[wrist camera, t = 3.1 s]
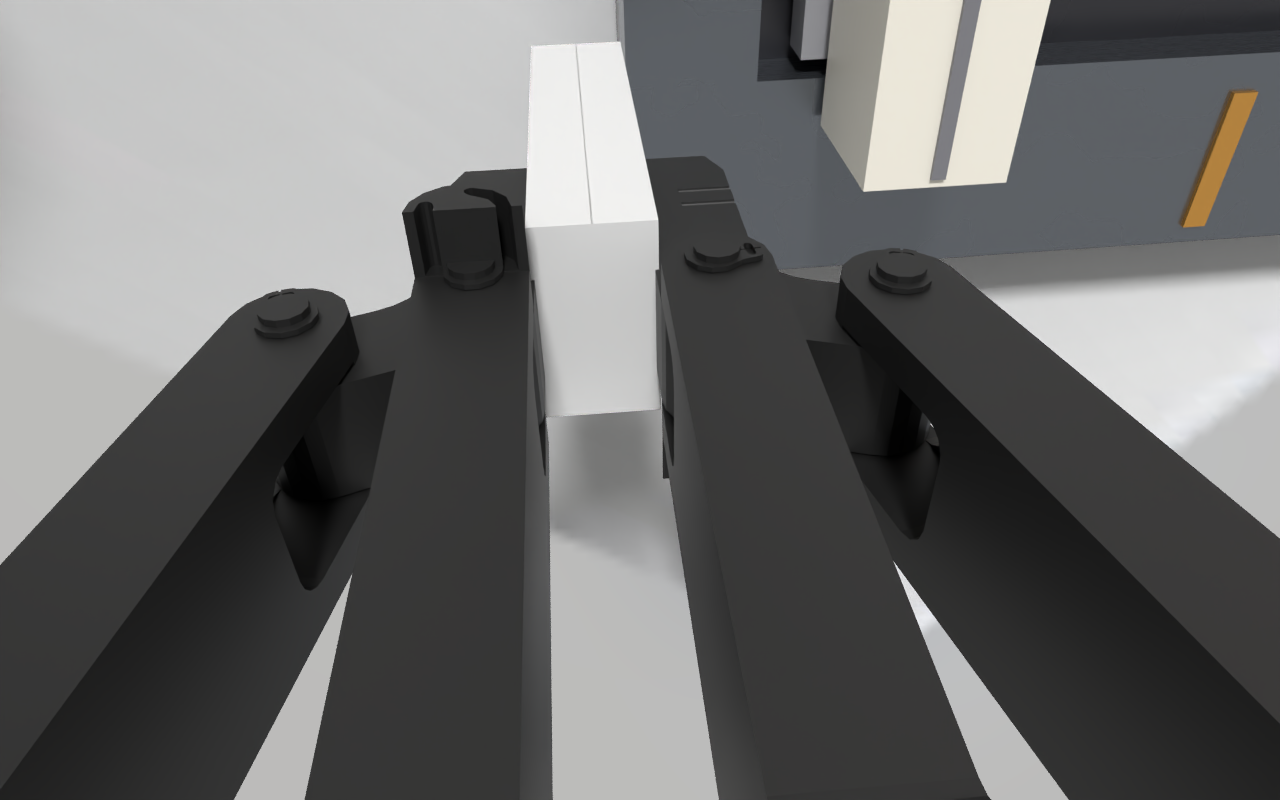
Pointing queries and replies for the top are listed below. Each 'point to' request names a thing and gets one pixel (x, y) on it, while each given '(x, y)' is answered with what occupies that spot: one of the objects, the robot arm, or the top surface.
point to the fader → (922, 85)
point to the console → (1045, 147)
